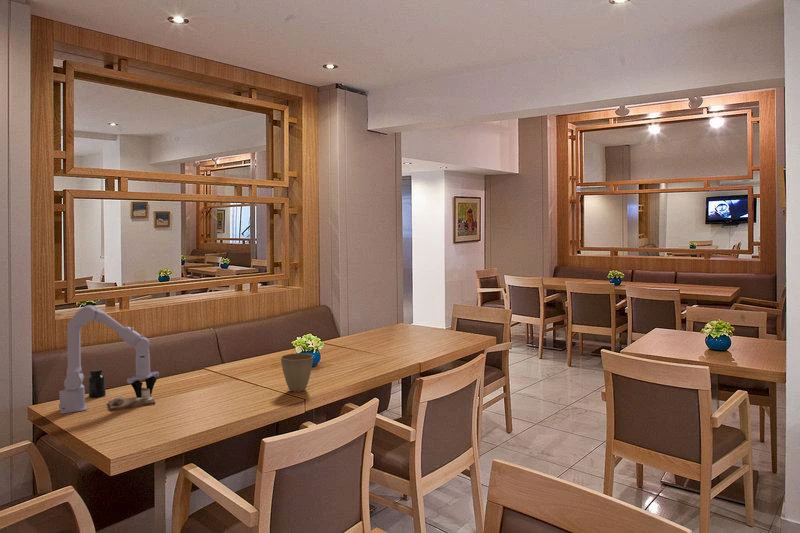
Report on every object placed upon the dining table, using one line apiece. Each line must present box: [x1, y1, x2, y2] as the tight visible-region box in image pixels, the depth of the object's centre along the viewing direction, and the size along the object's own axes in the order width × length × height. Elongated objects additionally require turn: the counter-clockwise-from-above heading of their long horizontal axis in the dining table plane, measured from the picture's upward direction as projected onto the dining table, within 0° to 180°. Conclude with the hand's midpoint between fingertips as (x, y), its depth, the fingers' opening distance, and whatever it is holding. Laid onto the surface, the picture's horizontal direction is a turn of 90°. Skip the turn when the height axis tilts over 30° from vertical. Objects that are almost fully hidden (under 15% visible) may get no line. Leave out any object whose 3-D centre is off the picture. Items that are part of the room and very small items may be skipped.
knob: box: [141, 387, 150, 398], centre depth 244 cm, size 5×5×4 cm
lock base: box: [108, 394, 156, 412], centre depth 241 cm, size 17×13×3 cm
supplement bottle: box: [87, 368, 107, 399], centre depth 253 cm, size 7×7×12 cm
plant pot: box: [280, 353, 314, 392], centre depth 259 cm, size 15×15×16 cm
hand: (144, 395), depth 244 cm, fingers closed on knob, 5 cm apart
